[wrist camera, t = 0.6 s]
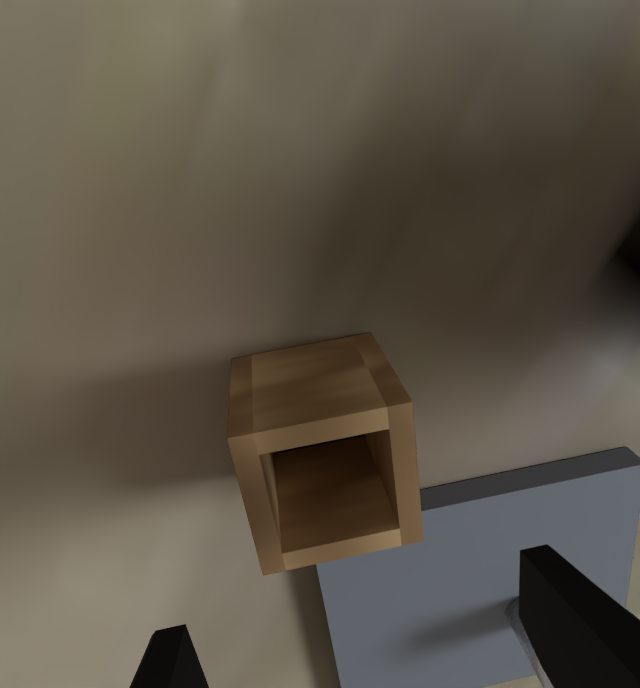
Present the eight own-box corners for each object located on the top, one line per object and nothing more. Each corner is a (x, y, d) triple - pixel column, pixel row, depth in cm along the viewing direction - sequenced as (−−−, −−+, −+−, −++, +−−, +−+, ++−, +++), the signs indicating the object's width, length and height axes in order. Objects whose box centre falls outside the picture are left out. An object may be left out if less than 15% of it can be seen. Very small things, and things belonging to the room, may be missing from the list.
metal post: (533, 567, 24) (618, 696, 19) (532, 596, 25) (613, 729, 19) (493, 576, 24) (566, 709, 18) (493, 605, 25) (563, 741, 19)
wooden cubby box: (370, 332, 18) (412, 401, 14) (383, 447, 20) (423, 540, 16) (231, 358, 18) (226, 438, 13) (259, 472, 20) (262, 575, 15)
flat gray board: (626, 446, 22) (646, 463, 21) (603, 633, 27) (618, 655, 26) (306, 513, 21) (310, 535, 20) (343, 694, 26) (347, 718, 25)
